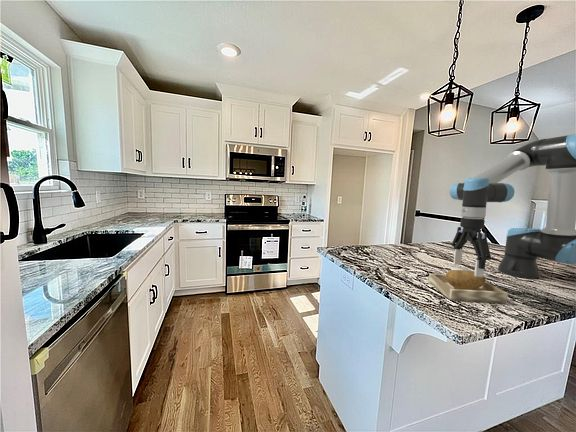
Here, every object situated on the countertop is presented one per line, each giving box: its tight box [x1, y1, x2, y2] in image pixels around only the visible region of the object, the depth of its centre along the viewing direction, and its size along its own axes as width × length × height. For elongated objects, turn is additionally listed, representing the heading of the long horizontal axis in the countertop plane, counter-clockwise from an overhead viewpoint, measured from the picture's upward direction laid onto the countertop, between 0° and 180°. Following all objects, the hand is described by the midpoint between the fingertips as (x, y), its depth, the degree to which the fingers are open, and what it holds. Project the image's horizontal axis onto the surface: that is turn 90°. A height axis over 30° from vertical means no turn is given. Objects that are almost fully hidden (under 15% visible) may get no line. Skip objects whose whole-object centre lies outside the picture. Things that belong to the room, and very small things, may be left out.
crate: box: [428, 273, 509, 305], centre depth 99 cm, size 19×17×4 cm
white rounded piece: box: [450, 266, 472, 271], centre depth 114 cm, size 8×8×4 cm
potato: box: [446, 269, 487, 290], centre depth 98 cm, size 10×14×8 cm
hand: (467, 270), depth 98 cm, fingers open, 13 cm apart
